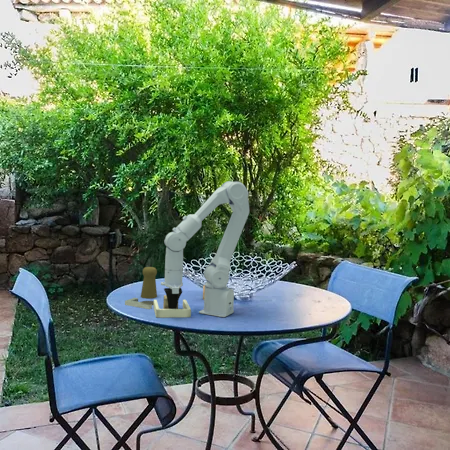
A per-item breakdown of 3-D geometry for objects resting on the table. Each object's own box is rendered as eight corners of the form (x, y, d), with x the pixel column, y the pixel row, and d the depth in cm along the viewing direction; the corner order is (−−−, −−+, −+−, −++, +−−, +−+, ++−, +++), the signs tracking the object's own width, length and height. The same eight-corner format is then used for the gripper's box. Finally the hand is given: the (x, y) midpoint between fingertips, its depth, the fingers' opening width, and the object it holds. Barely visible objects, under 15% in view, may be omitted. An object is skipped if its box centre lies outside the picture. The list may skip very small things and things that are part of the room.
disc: (160, 302, 176) (160, 302, 176) (150, 306, 170) (150, 305, 170) (145, 300, 178) (145, 299, 178) (136, 303, 173) (136, 303, 173)
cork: (158, 295, 187) (159, 266, 186) (155, 299, 181) (156, 269, 180) (143, 294, 188) (143, 265, 187) (138, 298, 182) (139, 268, 181)
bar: (158, 306, 172) (158, 301, 172) (149, 309, 167) (149, 305, 167) (134, 301, 176) (134, 297, 176) (124, 305, 171) (125, 300, 171)
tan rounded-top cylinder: (218, 298, 186) (219, 285, 186) (212, 301, 182) (213, 288, 181) (206, 296, 188) (207, 283, 188) (200, 299, 184) (200, 286, 183)
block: (177, 311, 166) (178, 298, 165) (164, 311, 165) (164, 298, 165) (176, 308, 170) (177, 295, 170) (163, 308, 169) (163, 295, 169)
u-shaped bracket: (190, 317, 159) (190, 309, 159) (156, 317, 157) (156, 309, 157) (185, 306, 172) (185, 299, 172) (153, 307, 170) (153, 299, 170)
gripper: (159, 265, 167) (158, 305, 168) (163, 273, 153) (161, 316, 154) (180, 265, 169) (179, 304, 170) (186, 273, 155) (184, 316, 156)
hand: (172, 310), depth 162 cm, fingers closed
